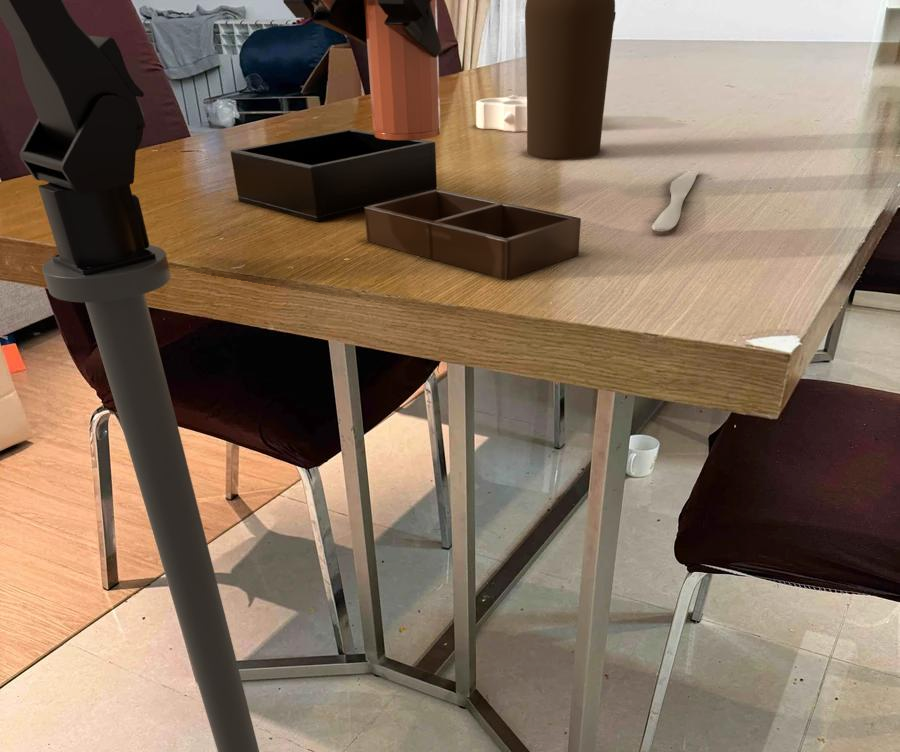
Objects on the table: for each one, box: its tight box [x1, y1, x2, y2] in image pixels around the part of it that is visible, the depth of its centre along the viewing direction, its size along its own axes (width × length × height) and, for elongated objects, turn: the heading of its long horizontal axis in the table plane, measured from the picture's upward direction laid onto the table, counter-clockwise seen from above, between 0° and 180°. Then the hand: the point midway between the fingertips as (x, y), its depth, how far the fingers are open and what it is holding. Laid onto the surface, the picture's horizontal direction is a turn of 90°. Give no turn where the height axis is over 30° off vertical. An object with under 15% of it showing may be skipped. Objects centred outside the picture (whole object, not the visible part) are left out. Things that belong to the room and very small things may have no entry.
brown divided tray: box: [364, 188, 582, 280], centre depth 75 cm, size 9×18×3 cm, turn 44°
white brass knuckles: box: [475, 94, 527, 133], centre depth 125 cm, size 3×18×15 cm
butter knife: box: [651, 169, 700, 232], centre depth 87 cm, size 1×27×3 cm
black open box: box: [230, 128, 438, 223], centre depth 92 cm, size 17×15×5 cm
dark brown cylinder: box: [524, 0, 617, 160], centre depth 101 cm, size 11×11×25 cm
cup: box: [364, 0, 441, 141], centre depth 83 cm, size 7×7×12 cm
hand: (413, 51), depth 83 cm, fingers closed on cup, 7 cm apart
